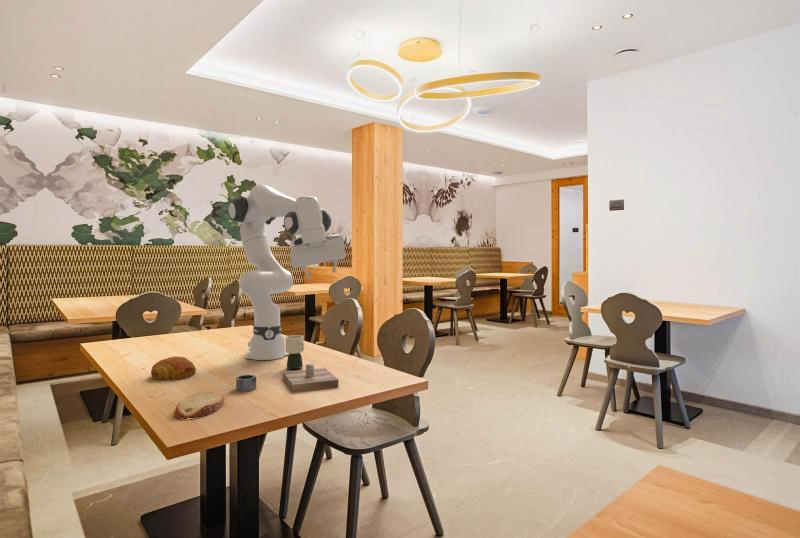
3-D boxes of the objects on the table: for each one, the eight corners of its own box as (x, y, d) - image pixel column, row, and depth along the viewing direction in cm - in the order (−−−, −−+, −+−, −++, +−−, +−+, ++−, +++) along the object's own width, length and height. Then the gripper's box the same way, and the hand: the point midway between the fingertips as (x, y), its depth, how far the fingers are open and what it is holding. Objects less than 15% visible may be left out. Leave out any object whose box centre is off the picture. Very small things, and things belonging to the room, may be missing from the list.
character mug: (310, 369, 191) (310, 336, 190) (296, 372, 185) (296, 339, 184) (293, 364, 197) (293, 333, 197) (279, 368, 192) (278, 336, 191)
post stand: (283, 378, 176) (282, 361, 176) (324, 374, 183) (324, 357, 183) (292, 391, 160) (292, 372, 160) (338, 386, 167) (338, 368, 166)
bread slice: (211, 395, 157) (211, 384, 157) (241, 407, 146) (241, 395, 146) (155, 409, 143) (155, 397, 143) (184, 423, 132) (183, 410, 132)
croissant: (145, 383, 177) (141, 363, 175) (181, 368, 190) (178, 349, 189) (170, 388, 170) (166, 366, 169) (205, 372, 183) (202, 352, 182)
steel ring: (235, 387, 165) (235, 375, 165) (254, 385, 168) (254, 373, 167) (237, 392, 159) (237, 380, 159) (256, 390, 162) (256, 378, 162)
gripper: (342, 234, 180) (349, 270, 180) (288, 244, 177) (295, 280, 177) (342, 232, 174) (349, 269, 173) (286, 242, 171) (293, 280, 170)
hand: (321, 275), depth 175 cm, fingers open, 8 cm apart
